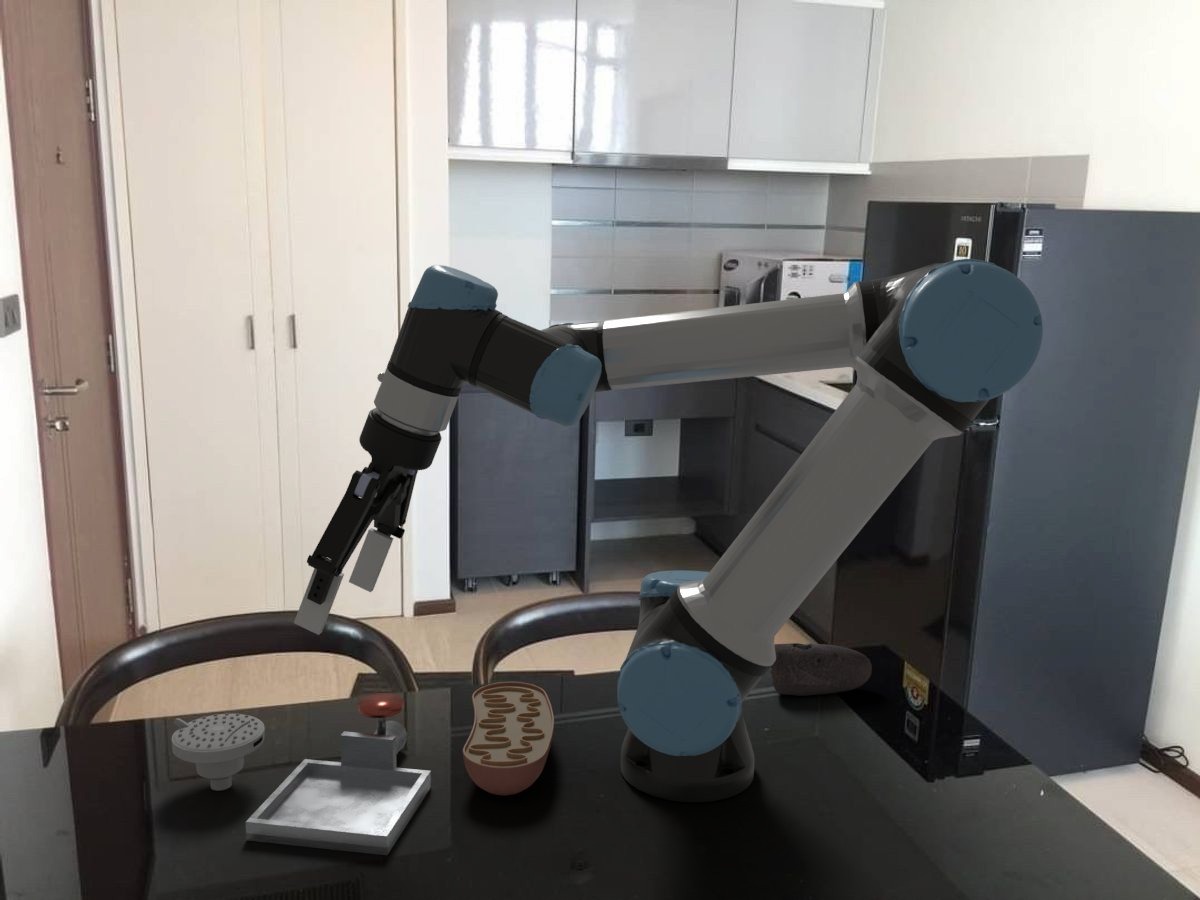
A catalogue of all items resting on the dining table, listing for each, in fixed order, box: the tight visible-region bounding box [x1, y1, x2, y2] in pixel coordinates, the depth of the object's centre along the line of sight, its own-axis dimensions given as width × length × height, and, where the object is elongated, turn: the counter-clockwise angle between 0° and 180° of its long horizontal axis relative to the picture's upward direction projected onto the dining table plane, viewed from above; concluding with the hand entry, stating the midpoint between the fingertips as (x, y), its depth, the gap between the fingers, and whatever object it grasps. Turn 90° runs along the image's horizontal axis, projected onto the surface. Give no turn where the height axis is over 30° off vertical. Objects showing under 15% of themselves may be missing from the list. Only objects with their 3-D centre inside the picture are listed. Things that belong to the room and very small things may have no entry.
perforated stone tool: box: [769, 642, 873, 697], centre depth 141 cm, size 15×5×7 cm, turn 98°
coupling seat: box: [245, 692, 432, 856], centre depth 111 cm, size 22×14×7 cm
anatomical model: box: [462, 681, 555, 796], centre depth 120 cm, size 23×10×5 cm, turn 3°
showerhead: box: [171, 712, 266, 792], centre depth 113 cm, size 9×7×10 cm
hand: (335, 606), depth 107 cm, fingers open, 13 cm apart
